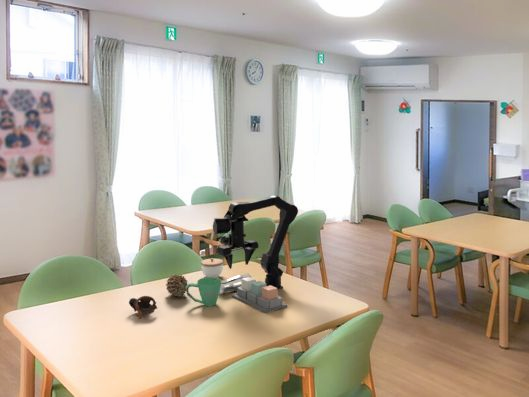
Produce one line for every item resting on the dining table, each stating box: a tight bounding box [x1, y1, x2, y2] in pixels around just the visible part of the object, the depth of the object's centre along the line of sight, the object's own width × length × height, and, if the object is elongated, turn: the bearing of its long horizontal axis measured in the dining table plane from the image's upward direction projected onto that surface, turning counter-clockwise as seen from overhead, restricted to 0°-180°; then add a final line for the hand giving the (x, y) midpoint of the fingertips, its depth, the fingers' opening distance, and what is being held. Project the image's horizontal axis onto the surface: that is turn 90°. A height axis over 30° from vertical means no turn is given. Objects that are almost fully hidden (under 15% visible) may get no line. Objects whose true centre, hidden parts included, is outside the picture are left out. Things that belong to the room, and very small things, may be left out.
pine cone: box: [165, 273, 189, 297], centre depth 225 cm, size 22×10×10 cm, turn 23°
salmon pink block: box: [262, 285, 278, 300], centre depth 207 cm, size 4×4×5 cm
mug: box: [185, 277, 222, 307], centre depth 210 cm, size 15×10×10 cm
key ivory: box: [241, 276, 257, 291], centre depth 219 cm, size 4×4×5 cm
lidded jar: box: [200, 257, 224, 280], centre depth 248 cm, size 11×11×9 cm
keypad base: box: [232, 286, 288, 314], centre depth 214 cm, size 11×24×4 cm, turn 36°
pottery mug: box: [128, 295, 158, 319], centre depth 201 cm, size 12×10×8 cm
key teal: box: [251, 280, 266, 295], centre depth 213 cm, size 4×4×5 cm
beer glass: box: [219, 273, 252, 295], centre depth 227 cm, size 7×7×15 cm
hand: (238, 266), depth 224 cm, fingers open, 8 cm apart
